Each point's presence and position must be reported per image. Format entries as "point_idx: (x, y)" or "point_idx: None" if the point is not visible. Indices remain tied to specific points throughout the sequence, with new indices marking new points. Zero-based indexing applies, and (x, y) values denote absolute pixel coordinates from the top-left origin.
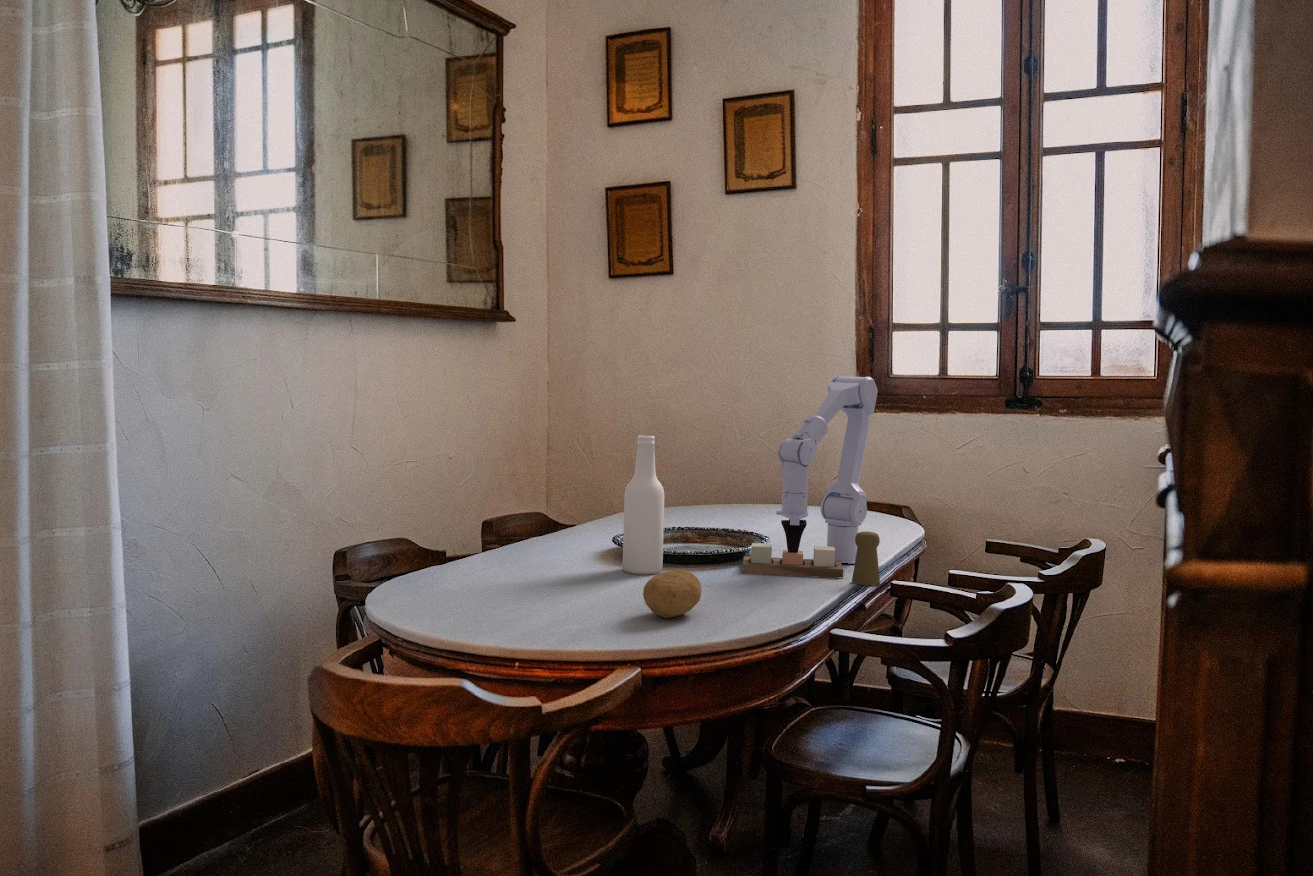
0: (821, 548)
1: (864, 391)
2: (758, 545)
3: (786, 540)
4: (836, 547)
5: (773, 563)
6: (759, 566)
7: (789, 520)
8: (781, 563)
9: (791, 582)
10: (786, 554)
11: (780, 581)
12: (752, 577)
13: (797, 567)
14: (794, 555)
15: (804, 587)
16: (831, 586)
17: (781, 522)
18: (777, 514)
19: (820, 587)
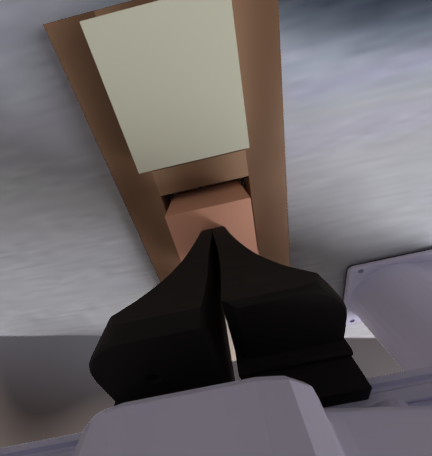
0: (228, 335)
1: None
2: (153, 71)
3: (187, 254)
4: (384, 316)
5: (160, 169)
6: (89, 121)
7: (254, 373)
8: (246, 178)
9: (62, 243)
10: (169, 229)
11: (50, 214)
12: (32, 110)
13: (148, 252)
14: (179, 254)
15: (30, 279)
16: (91, 318)
17: (116, 334)
18: (86, 427)
19: (62, 305)
